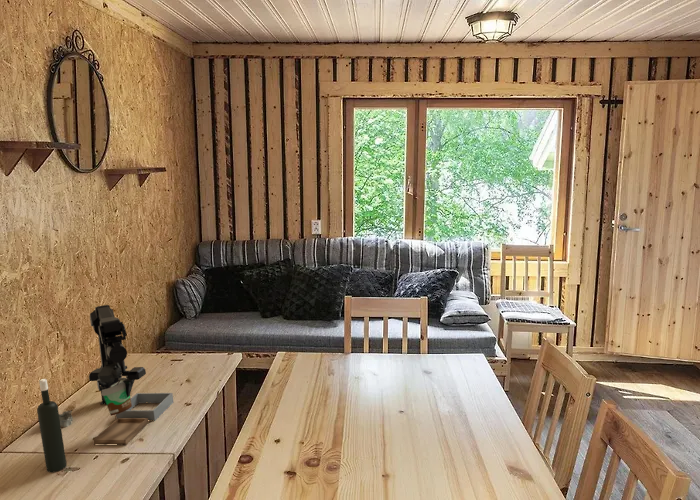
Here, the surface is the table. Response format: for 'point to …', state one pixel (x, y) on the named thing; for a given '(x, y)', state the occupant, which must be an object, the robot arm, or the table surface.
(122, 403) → the food container
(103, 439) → the tray
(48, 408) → the wine bottle
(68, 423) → the egg carton
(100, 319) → the robot arm
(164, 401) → the tub
